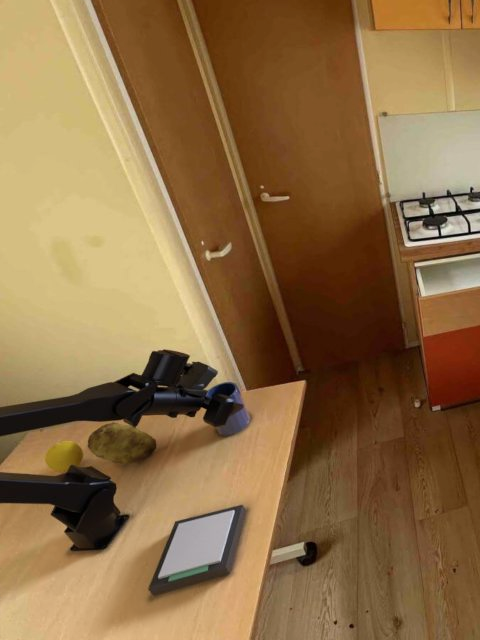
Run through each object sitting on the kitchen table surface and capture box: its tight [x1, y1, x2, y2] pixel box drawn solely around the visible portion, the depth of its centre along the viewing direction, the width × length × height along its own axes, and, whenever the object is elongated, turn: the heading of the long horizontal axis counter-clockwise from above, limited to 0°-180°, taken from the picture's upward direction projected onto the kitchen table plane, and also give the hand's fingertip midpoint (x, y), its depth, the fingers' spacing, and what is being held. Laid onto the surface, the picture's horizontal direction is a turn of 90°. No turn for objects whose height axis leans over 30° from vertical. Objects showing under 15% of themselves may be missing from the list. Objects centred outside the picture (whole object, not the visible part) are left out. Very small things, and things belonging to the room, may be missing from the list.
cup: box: [206, 381, 251, 437], centre depth 104 cm, size 7×7×11 cm
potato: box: [87, 422, 157, 465], centre depth 97 cm, size 8×13×8 cm, turn 67°
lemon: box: [44, 440, 84, 473], centre depth 94 cm, size 6×6×8 cm
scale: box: [147, 504, 247, 597], centre depth 80 cm, size 12×12×3 cm
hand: (229, 401), depth 104 cm, fingers open, 9 cm apart
